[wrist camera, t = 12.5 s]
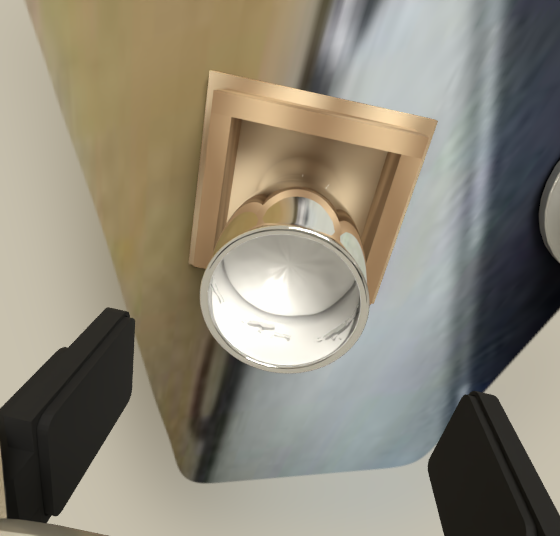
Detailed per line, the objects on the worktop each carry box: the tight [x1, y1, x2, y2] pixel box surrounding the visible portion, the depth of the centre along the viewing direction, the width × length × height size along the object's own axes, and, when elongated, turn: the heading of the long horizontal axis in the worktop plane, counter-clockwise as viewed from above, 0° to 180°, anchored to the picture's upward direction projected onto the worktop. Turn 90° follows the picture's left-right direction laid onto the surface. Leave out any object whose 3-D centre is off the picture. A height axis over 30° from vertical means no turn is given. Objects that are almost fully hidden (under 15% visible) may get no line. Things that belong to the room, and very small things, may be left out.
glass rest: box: [189, 70, 438, 305], centre depth 28 cm, size 15×14×5 cm
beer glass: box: [200, 157, 370, 373], centre depth 22 cm, size 7×7×15 cm
